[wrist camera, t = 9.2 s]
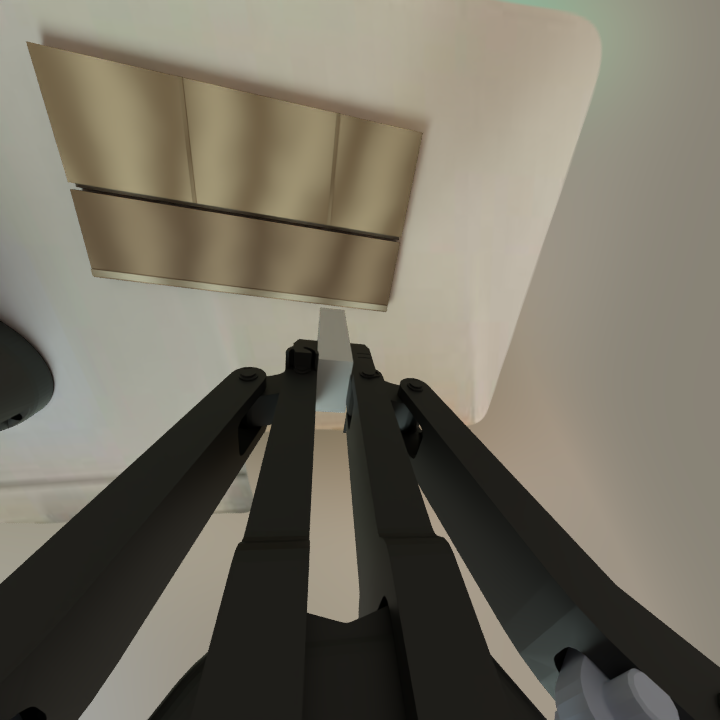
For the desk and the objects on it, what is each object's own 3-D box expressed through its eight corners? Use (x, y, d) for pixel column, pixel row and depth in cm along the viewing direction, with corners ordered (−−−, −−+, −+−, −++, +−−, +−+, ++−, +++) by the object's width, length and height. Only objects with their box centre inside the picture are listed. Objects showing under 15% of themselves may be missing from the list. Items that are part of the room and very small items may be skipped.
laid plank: (81, 187, 23) (68, 186, 22) (42, 50, 19) (25, 40, 18) (397, 239, 28) (400, 240, 26) (418, 136, 24) (422, 132, 23)
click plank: (103, 274, 26) (93, 276, 25) (81, 190, 23) (69, 189, 22) (384, 308, 31) (386, 312, 30) (397, 241, 28) (400, 242, 26)
